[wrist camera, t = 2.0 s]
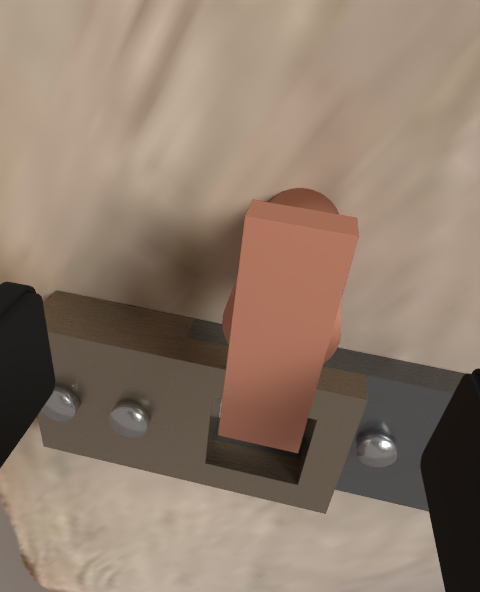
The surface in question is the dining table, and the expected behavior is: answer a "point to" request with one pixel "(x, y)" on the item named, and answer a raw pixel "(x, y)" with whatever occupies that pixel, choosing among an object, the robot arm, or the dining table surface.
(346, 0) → the dining table surface
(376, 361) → the studded slotted plate
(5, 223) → the dining table surface
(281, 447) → the orange t-shaped block
